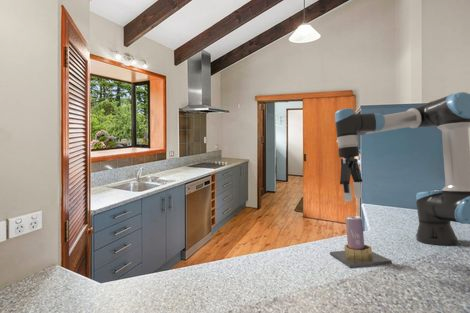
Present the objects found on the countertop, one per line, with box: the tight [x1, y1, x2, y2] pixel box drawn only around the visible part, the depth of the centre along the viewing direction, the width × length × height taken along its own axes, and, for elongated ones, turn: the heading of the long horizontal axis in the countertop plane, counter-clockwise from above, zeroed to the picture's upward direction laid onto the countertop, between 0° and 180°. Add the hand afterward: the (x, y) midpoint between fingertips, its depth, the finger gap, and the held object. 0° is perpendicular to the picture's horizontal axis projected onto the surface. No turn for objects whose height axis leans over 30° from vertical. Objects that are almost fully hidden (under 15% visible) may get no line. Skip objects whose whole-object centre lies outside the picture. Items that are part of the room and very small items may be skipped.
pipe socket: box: [329, 243, 393, 269], centre depth 101 cm, size 16×16×5 cm
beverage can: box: [345, 215, 366, 250], centre depth 101 cm, size 6×6×15 cm
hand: (353, 199), depth 103 cm, fingers open, 13 cm apart
